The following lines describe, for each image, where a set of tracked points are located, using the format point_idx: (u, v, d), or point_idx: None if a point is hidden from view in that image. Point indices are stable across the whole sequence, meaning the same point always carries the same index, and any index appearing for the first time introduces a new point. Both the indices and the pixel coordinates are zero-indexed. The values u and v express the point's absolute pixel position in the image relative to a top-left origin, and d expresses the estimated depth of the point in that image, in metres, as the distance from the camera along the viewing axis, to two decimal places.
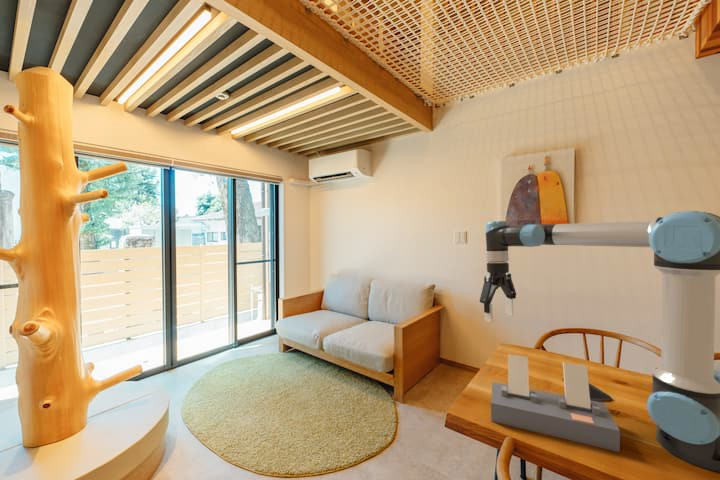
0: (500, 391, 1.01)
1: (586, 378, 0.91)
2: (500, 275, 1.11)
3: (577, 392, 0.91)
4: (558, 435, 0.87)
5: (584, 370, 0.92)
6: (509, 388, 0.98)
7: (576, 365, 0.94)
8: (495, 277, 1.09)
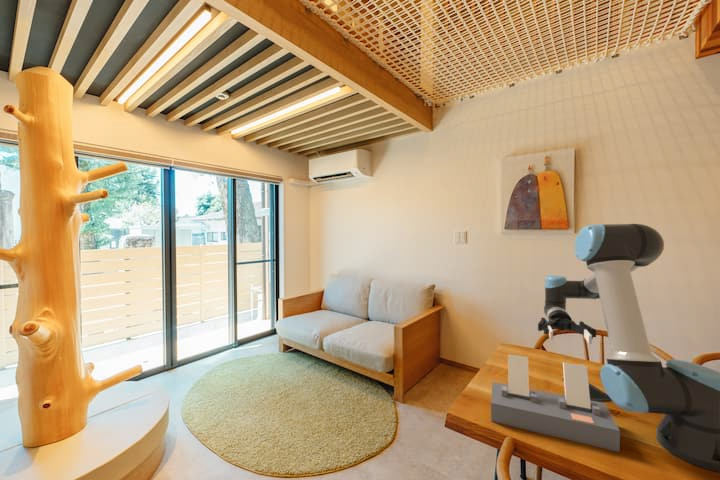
0: (500, 391, 1.01)
1: (586, 378, 0.91)
2: (560, 319, 1.16)
3: (577, 392, 0.91)
4: (558, 435, 0.87)
5: (584, 370, 0.92)
6: (509, 388, 0.98)
7: (576, 365, 0.94)
8: (551, 318, 1.17)
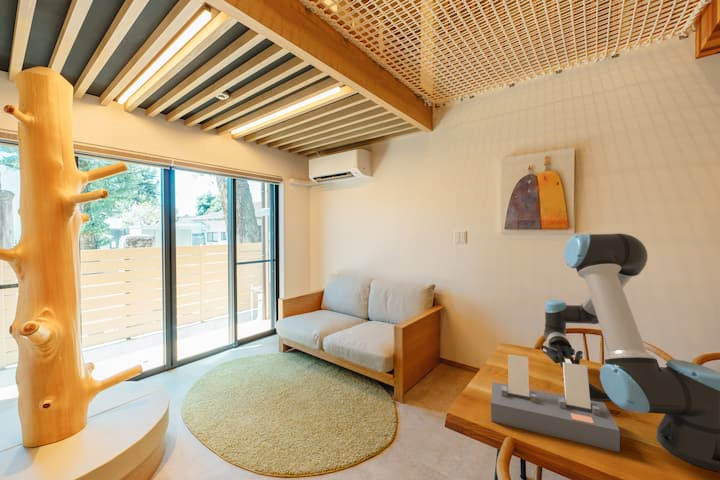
0: (500, 391, 1.01)
1: (586, 378, 0.91)
2: (560, 346, 1.16)
3: (577, 392, 0.91)
4: (558, 435, 0.87)
5: (584, 370, 0.92)
6: (509, 388, 0.98)
7: (576, 365, 0.94)
8: (550, 346, 1.17)
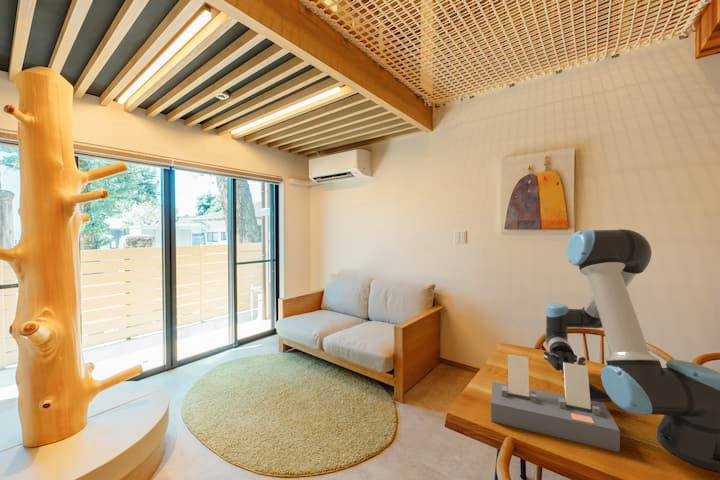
0: (500, 391, 1.01)
1: (586, 378, 0.91)
2: (562, 352, 1.11)
3: (577, 392, 0.91)
4: (558, 435, 0.87)
5: (584, 371, 0.92)
6: (509, 388, 0.98)
7: (576, 365, 0.93)
8: (552, 351, 1.12)
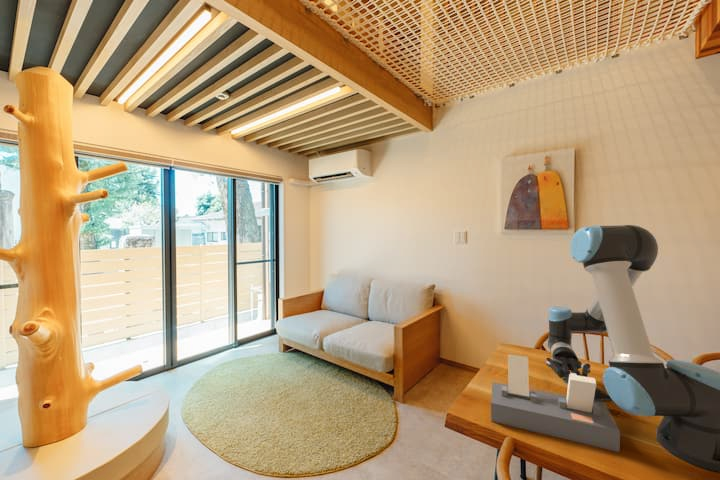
0: (500, 391, 1.01)
1: (593, 392, 0.85)
2: (565, 358, 1.06)
3: (580, 401, 0.88)
4: (558, 435, 0.87)
5: (592, 387, 0.84)
6: (509, 388, 0.98)
7: (584, 382, 0.84)
8: (555, 357, 1.07)
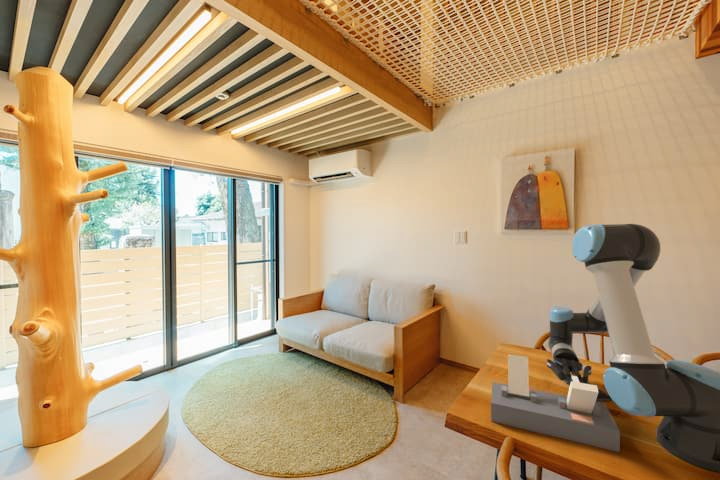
0: (500, 391, 1.01)
1: (594, 399, 0.83)
2: (566, 360, 1.05)
3: (580, 404, 0.87)
4: (558, 435, 0.87)
5: (593, 394, 0.83)
6: (509, 388, 0.98)
7: (586, 391, 0.83)
8: (555, 359, 1.06)
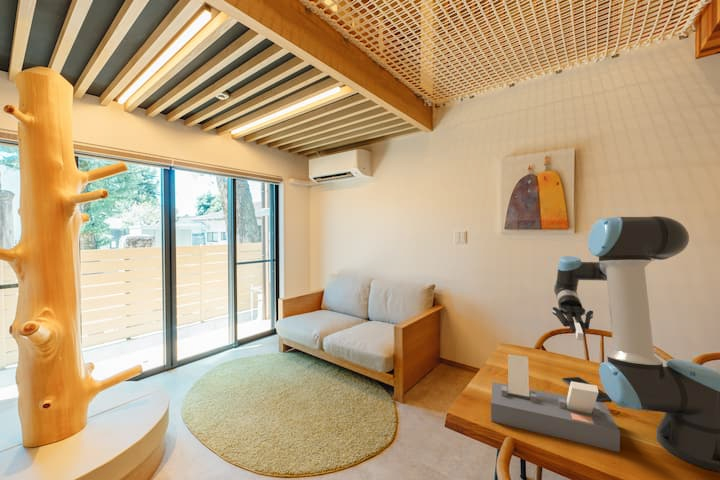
0: (500, 391, 1.01)
1: (594, 399, 0.83)
2: (570, 306, 1.15)
3: (580, 404, 0.87)
4: (558, 435, 0.87)
5: (593, 394, 0.83)
6: (509, 388, 0.98)
7: (586, 391, 0.83)
8: (560, 306, 1.16)
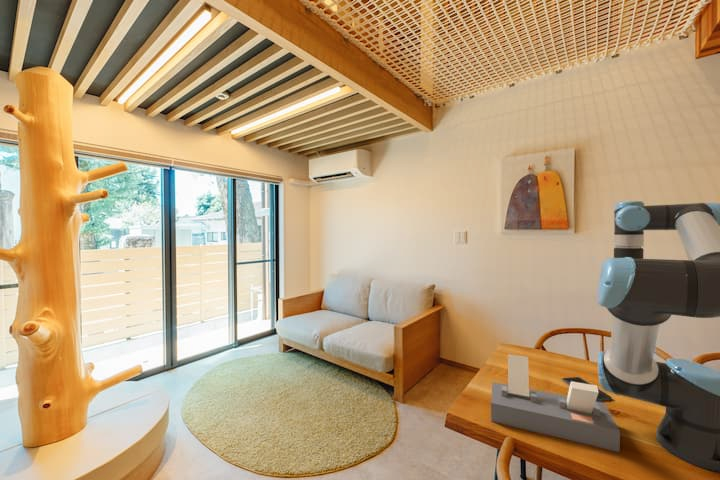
0: (500, 391, 1.01)
1: (594, 399, 0.83)
2: None
3: (580, 404, 0.87)
4: (558, 435, 0.87)
5: (593, 394, 0.83)
6: (509, 388, 0.98)
7: (586, 391, 0.83)
8: None
